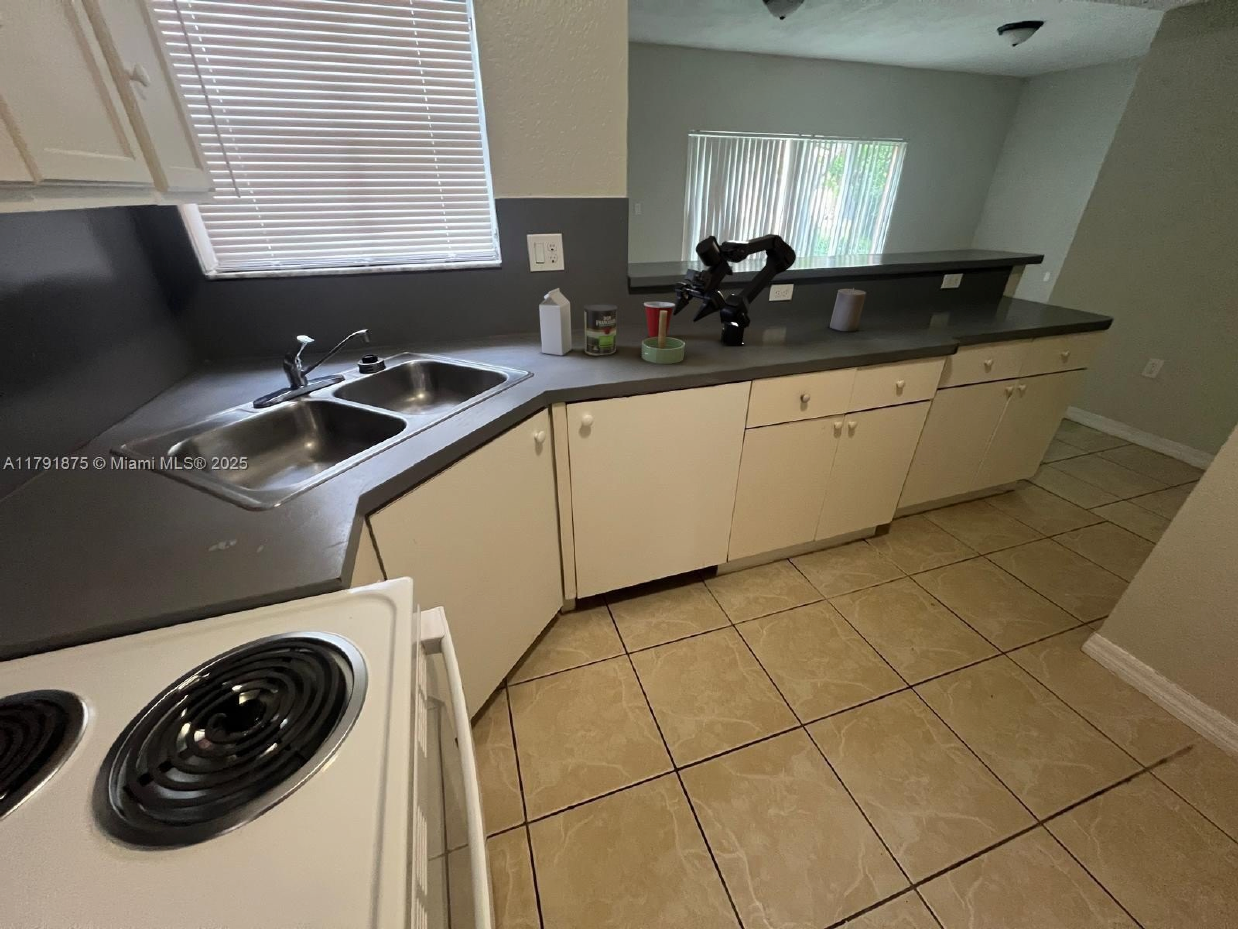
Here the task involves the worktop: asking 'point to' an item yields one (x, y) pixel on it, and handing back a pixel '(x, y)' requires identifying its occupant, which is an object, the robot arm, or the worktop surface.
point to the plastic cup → (657, 316)
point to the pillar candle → (847, 309)
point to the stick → (662, 329)
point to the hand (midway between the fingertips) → (683, 317)
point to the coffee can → (600, 328)
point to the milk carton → (555, 323)
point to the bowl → (663, 350)
